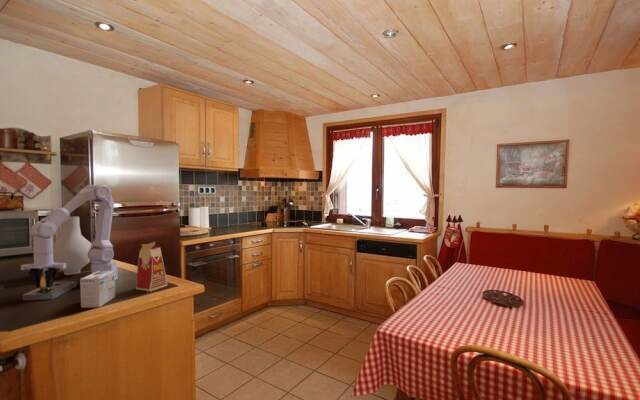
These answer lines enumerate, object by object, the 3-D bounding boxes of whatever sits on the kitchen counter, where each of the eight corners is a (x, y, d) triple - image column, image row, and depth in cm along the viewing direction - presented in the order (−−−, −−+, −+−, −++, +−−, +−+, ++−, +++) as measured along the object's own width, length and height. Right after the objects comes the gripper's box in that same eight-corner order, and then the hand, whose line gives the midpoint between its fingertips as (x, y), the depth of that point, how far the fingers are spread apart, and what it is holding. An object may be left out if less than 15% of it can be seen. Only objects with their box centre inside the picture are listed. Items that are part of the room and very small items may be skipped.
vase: (42, 275, 154) (41, 217, 153) (79, 267, 169) (78, 215, 168) (64, 279, 148) (62, 219, 147) (100, 270, 163) (99, 216, 162)
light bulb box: (98, 297, 125) (97, 270, 124) (116, 297, 125) (115, 270, 125) (79, 308, 114) (79, 278, 114) (99, 307, 115) (99, 278, 114)
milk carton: (167, 285, 141) (167, 240, 140) (150, 291, 132) (149, 243, 131) (151, 283, 144) (151, 239, 143) (133, 289, 135) (132, 242, 134)
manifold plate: (76, 286, 138) (76, 281, 138) (52, 299, 122) (52, 293, 122) (50, 287, 137) (50, 282, 136) (22, 300, 121) (22, 294, 121)
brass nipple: (52, 291, 128) (51, 273, 127) (47, 293, 125) (47, 276, 124) (42, 291, 127) (41, 274, 126) (37, 294, 124) (37, 276, 123)
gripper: (14, 255, 120) (15, 291, 120) (57, 254, 122) (58, 289, 123) (28, 251, 127) (29, 285, 127) (68, 250, 129) (69, 284, 130)
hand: (44, 287), depth 125 cm, fingers closed on brass nipple, 3 cm apart
